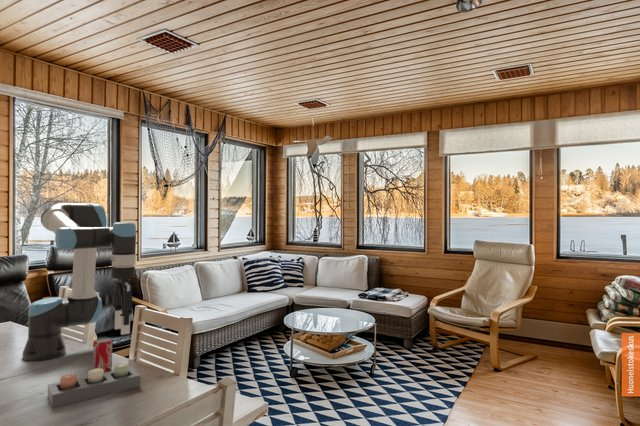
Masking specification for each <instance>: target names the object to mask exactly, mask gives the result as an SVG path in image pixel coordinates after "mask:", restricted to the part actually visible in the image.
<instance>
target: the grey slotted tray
mask: <svg viewBox="0 0 640 426" xmlns="http://www.w3.org/2000/svg"><path fill="white" fill-rule="evenodd" d="M132 388H133V389H137V388H141V374H140V373H139V372H138V371H137V370H136V369H135V368H134V367H133V366H128V375H126V376H122V377H115V376H114V370H109V371H108V372H106V373H103V380H102V381H99V382H94V383H91V382H88V375H87V376H82V377H77V384H76V386H74V387H72V388H67V389H62V388H60V381H58V382H54V383H49V384H48V385H47V398H48V401H49V404H50V406H51V408H52V409H53V408H58V407H63V406H65V405H67V406H68V405H70V404H71V405H72V404H75V403H79V402H83V401H88V400H92V399H96V398H99V397H104V396H109V395H111V394H112V393H113V394H116V392H117V393H120V391H121V392H125V391H128V390H127V389H129V390H133V389H132ZM124 390H125V391H124Z"/></svg>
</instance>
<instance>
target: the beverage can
mask: <svg viewBox="0 0 640 426" xmlns="http://www.w3.org/2000/svg"><path fill="white" fill-rule="evenodd" d="M112 366H113V342H112V339H111V338H109V337H105V338H98V339H96V340H95V343H94V344H93V368H92V369H97V368H101V369H103V370H104V373H106V372H110V371H112V368H113V367H112Z"/></svg>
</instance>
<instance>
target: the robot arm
mask: <svg viewBox="0 0 640 426" xmlns="http://www.w3.org/2000/svg"><path fill="white" fill-rule="evenodd" d="M107 221H108V219H107V214H106V210H105V208H104V207H103V206H102V205H101V204H98V203H90V202H88V203H87V202H83V203H82V202H81V203H80V202H78V203H77V202H76V203H75V202H60V203H55V204H52V205H50V206H48V207H47V208H46V209H44V211H42V213H41V215H40V223H41V226H43V228H44V229H46V230H47V231H50V232H53V233H54V234H55V238H54V240H55V247H56V248H57V249H59V250H68V251H70V250H73V265H72V281H71V283H72V284H71V291H70V293H68V294H67V299H63V298H62V297H61V296H52V297H46V298H42V299H39V300H36V301H33V302H32V303H31V304H30V305H29V308H28V315H27V317H28V326H27V328H28V329H27V330H28V332H27V334H28V335H27V341H26V342H25V346H24V348H23V351H22V360H24V361H29V362H31V361H32V362H37V361H46V360H51V359H55V358H56V359H57V358H58V357H61V356H63V355H65V353H66V350H67V349H66V344H65V342H64V339H63V336H62V329H63V328H69V327H76V326H83V325H85V326H86V325H88V324H89V325H90V324H93V323H96V322H97V321H98V320H99V319H100V317H101V313H102V311H103V304H102V303H103V302H102V301H103V300H102V298H101V297H100V296H99V295H98V292H97V291H96V290H95V283H96V282H95V281H96V280H95V279H96V263H97V259H96V258H97V249H106V248H107V249H110V248H111V256H112V257H110V261H111V266H112V267H111V270H110V271H111V274H110V275H111V278H112V279H115V280H114V290H113V291H114V293H113V304H112V305H113V306H112V307H113V308H114V330H120V336H121V335H122V336H123V335H128V334H131V315H132V314H133V284H131V282H130V279H131V278H134V277H135V276H136V267H135V265H136V256H137V255H136V243H137V226H136V223H134V222H114V223H113V224H112V226H108V227H107V225H108V224H107V223H108V222H107Z"/></svg>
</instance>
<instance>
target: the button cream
mask: <svg viewBox="0 0 640 426" xmlns="http://www.w3.org/2000/svg"><path fill="white" fill-rule="evenodd" d="M103 373H104V370H103V369H101V368H97V369H93V368H92V369H90V370H88V372H87V376H88V382H91V383H94V382H99V381H102V380H103Z"/></svg>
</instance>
